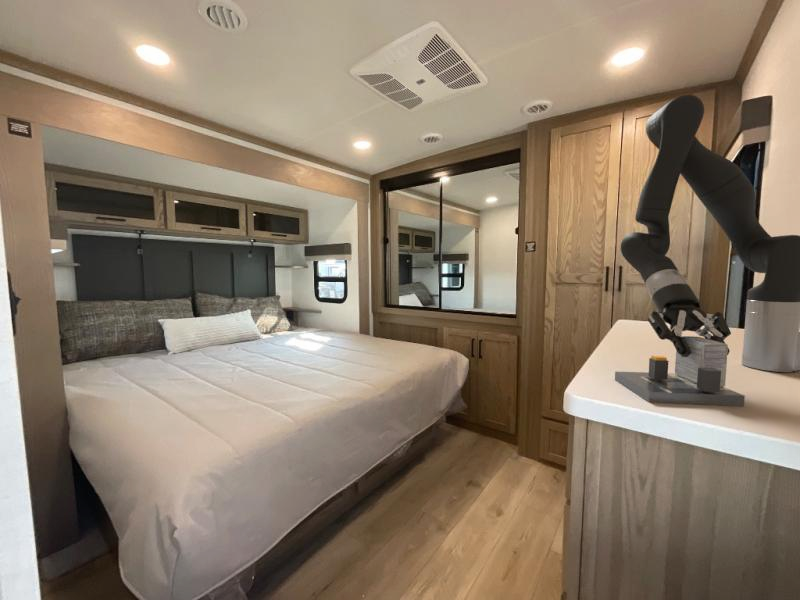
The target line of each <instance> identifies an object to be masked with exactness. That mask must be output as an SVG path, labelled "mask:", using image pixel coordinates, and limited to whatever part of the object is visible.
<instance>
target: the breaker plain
mask: <svg viewBox="0 0 800 600" xmlns="http://www.w3.org/2000/svg"><path fill="white" fill-rule="evenodd" d="M720 381H721V371H720V370H717V369H714V368H698V377H697V388H698V389H700V390H703V391H706V392H720Z"/></svg>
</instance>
